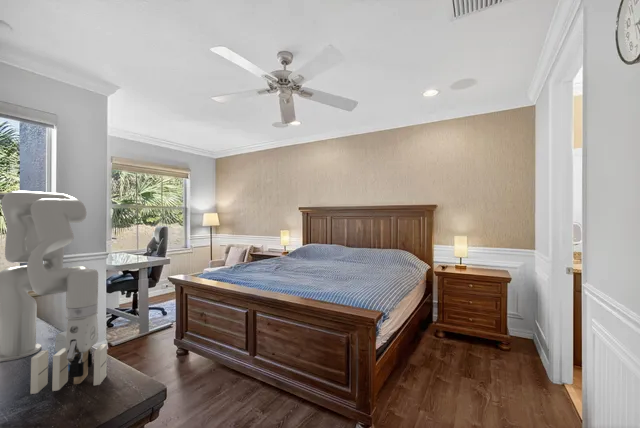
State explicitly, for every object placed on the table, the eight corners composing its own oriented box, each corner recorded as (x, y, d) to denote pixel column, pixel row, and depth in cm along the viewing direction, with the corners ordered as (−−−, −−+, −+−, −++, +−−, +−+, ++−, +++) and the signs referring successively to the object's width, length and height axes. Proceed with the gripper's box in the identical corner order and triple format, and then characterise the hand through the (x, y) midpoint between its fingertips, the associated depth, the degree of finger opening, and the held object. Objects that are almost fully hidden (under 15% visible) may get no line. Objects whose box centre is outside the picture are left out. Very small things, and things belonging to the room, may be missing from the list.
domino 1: (30, 394, 83) (31, 358, 83) (40, 384, 88) (41, 350, 88) (37, 393, 83) (38, 357, 84) (47, 383, 88) (48, 349, 88)
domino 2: (52, 391, 84) (52, 355, 85) (61, 381, 89) (62, 348, 89) (59, 390, 85) (59, 355, 85) (67, 381, 90) (68, 347, 90)
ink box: (66, 373, 94) (67, 335, 94) (53, 371, 95) (54, 334, 95) (91, 360, 103) (92, 326, 103) (80, 359, 104) (80, 325, 104)
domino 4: (93, 385, 88) (94, 351, 88) (100, 376, 92) (101, 344, 92) (99, 384, 88) (100, 350, 88) (106, 376, 93) (107, 344, 93)
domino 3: (87, 374, 91) (88, 342, 91) (80, 383, 86) (80, 349, 87) (81, 375, 91) (82, 342, 91) (73, 384, 86) (74, 349, 86)
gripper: (84, 318, 82) (82, 385, 82) (107, 302, 98) (106, 357, 98) (50, 321, 80) (49, 389, 79) (80, 304, 96) (79, 360, 96)
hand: (81, 371), depth 89 cm, fingers closed on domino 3, 4 cm apart
